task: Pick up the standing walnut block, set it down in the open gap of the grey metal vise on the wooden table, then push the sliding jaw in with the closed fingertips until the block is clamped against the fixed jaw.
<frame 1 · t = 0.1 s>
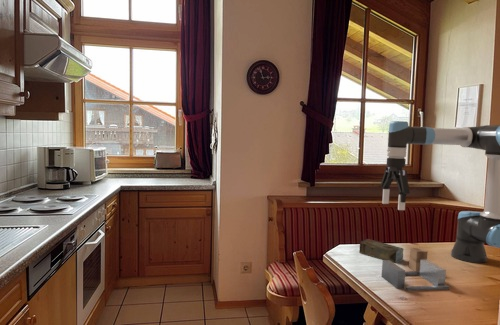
hand: (393, 206, 162), 28 cm above the table, tool pointing down, fingers open, 13 cm apart
block: (417, 269, 165), on the table
beverage carton: (380, 257, 182), on the table
jaw: (432, 272, 152), point 4 cm above the table, slide at 0.0 cm
vise body: (392, 282, 150), on the table
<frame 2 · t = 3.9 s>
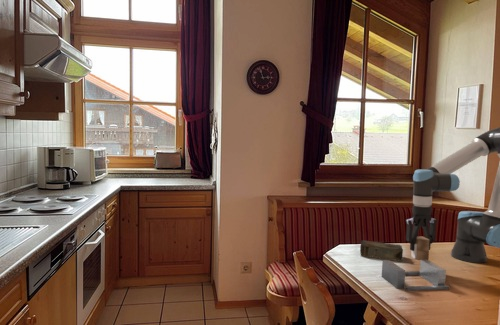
hand: (419, 257, 165), 6 cm above the table, tool pointing down, fingers closed on block, 5 cm apart
block: (419, 258, 165), point 5 cm above the table, touching gripper
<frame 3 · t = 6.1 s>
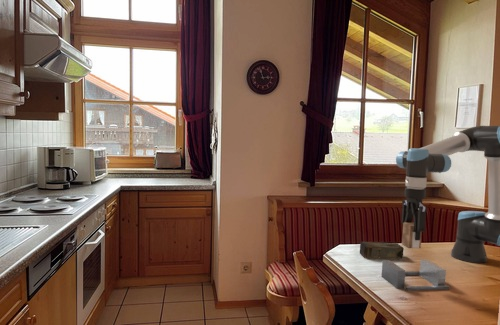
hand: (411, 245, 150), 15 cm above the table, tool pointing down, fingers closed on block, 5 cm apart
block: (411, 246, 150), point 15 cm above the table, touching gripper
when the fingers open (1 cm above the table, at t = 8.7 s): block stays where it is, on the table.
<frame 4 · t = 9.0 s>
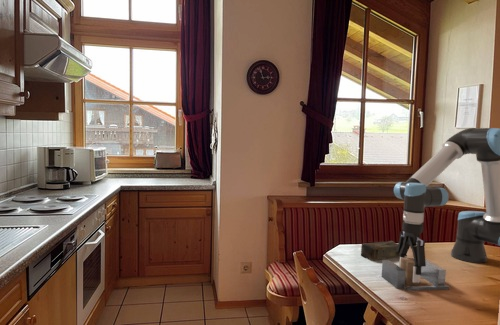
hand: (409, 277, 151), 2 cm above the table, tool pointing down, fingers open, 9 cm apart
block: (408, 282, 151), on the table
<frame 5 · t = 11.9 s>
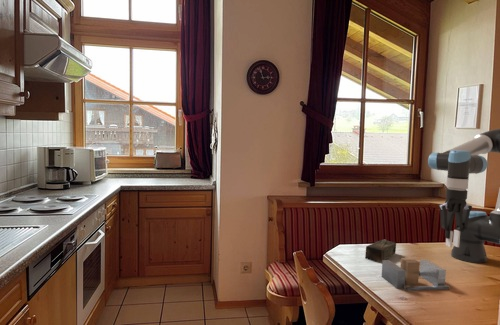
hand: (452, 246, 152), 15 cm above the table, tool pointing down, fingers open, 3 cm apart
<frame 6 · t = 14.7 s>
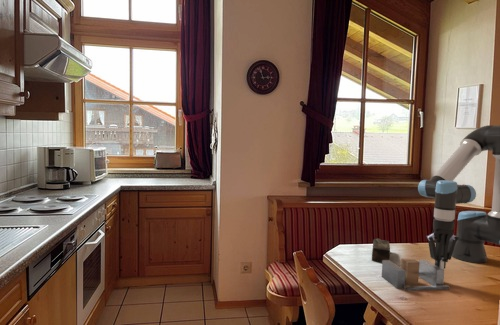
hand: (439, 276, 152), 2 cm above the table, tool pointing down, fingers closed
jaw: (430, 273, 152), point 4 cm above the table, slide at 0.7 cm, touching gripper
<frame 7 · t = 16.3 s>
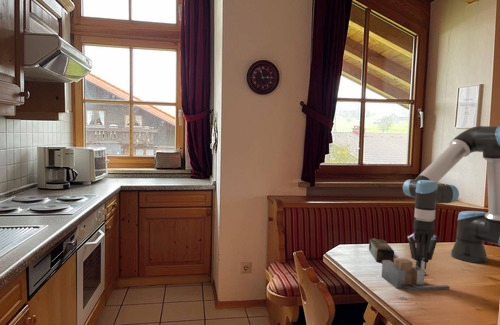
hand: (420, 276, 151), 2 cm above the table, tool pointing down, fingers closed
block: (401, 282, 150), on the table, touching jaw, vise body
jaw: (411, 273, 151), point 4 cm above the table, slide at 9.0 cm, touching block, gripper
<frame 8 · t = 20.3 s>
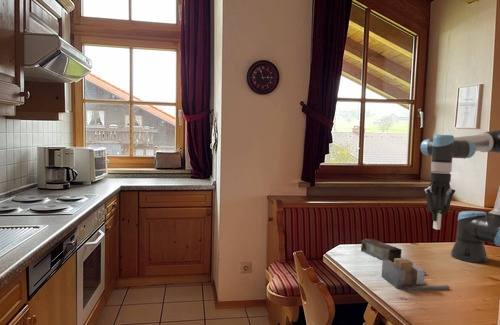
hand: (436, 228, 156), 20 cm above the table, tool pointing down, fingers closed
block: (401, 282, 150), on the table
jaw: (411, 273, 151), point 3 cm above the table, slide at 9.0 cm
at the end: block inside the target area (0.1 cm from its centre), on the table; block tilted 0°; jaw slide at 9.0 cm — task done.
